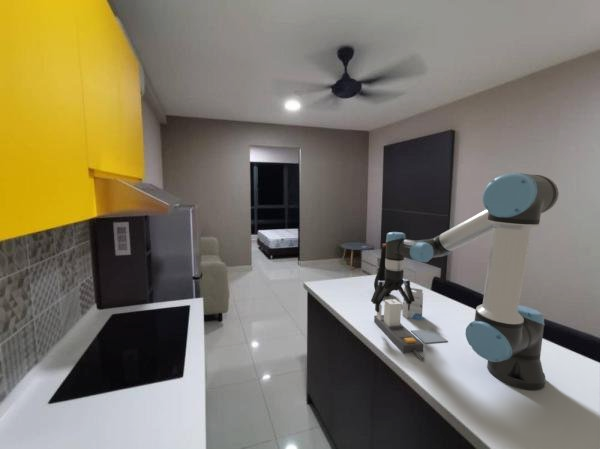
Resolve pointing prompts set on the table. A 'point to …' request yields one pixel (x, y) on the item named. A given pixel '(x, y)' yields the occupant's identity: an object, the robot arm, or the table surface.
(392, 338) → the power strip
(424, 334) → the mat
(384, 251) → the bottle
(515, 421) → the table surface
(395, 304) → the block
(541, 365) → the robot arm
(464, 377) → the table surface
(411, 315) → the ink box
